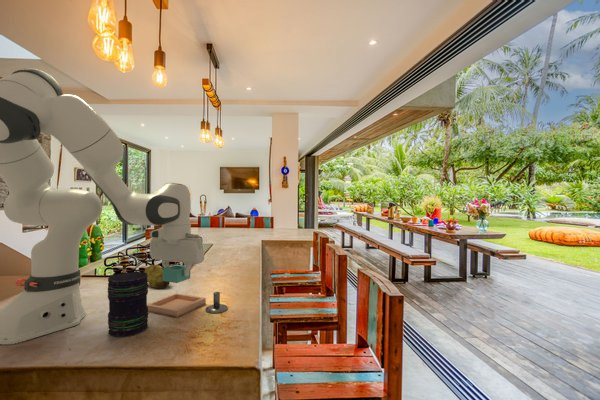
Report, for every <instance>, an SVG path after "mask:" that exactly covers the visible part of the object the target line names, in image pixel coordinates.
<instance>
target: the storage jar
mask: <svg viewBox="0 0 600 400" xmlns="http://www.w3.org/2000/svg"><path fill="white" fill-rule="evenodd" d="M147 277H148V274H147V273H145V272H144V271H127V272H121V273H116V274H113V275H110V276H108V277H107V282H108V283H107V299H108V306H109V307H108V308H109V309H108V311H109V312H108V313H107V325H108V326H107V328H108V336H110V337H111V338H112V337H113V338H129V337H132V336H133V337H134V336H136V335H139V334H142V333H143V332H145V331H146V330H147V329H148V327H149V324H148V319H149V312H148V307H147V304H148V303H147V301H148V296H147V295H148V294H149V289H148V288H149V283H148V279H147Z"/></svg>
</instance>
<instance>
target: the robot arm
mask: <svg viewBox="0 0 600 400" xmlns="http://www.w3.org/2000/svg"><path fill="white" fill-rule="evenodd" d="M41 133H45V134H48V135H50V136H52V137H54V138H55V139H56V140H57V141H58V142H59V143H60V144H61V145H62V146H63V147H64V148H65V149H66V150H67V152H69V154H70V155H72V157H73V158H74V159H75V160H76V161H77V162H78V163H79V164H80V165H81V166H82V167H83V169H84V172H85V173H86V174H87V175H88V177H89V178H90V180H91V181H92V182H93V183H94V184H95V185H96V187H97V188H98V189H99V191H101V193H102V194H103V195H104V196H105V198H107V200H108V201H109V202H110V203H111V206H112V208H113V210H114V213H115V216H116V217H117V218H118V220H119V221H120V222H121V223H123V224H125V225H128V226H135V225H136V226H139V225H140V226H141V225H142V226H152V227H153V226H155V227H156V226H157V227H158V226H161V227H159V228H157V229H154V230H152V231H150V232H149V236H150V237H149V238H150V241H149V256H150V258H151V259H153V260H161V264H162V267H163V268H166V267H170V266H171V265H170V262H176V263H183V264H184V265H183V266H186V267H185V269H184V270H183V271H182V276H189V270H190V271H191V268H192V266H193V265H198V264H202V263H203V262H204V261H205V251H204V244H203V238H202V237H201V236H200V235H199V234H196V233H195V234H194V233H191V232H192V231H191V230H192V227H191V226H192V224H191V223H192V222H191V219H190V216H191V215H190V214H191V210H192V207H191V202H192V201H191V194H190V193H191V192H190V189H189V187H188V186H186V185H185V184H182V183H176V182H166V183H164V184H163V185H162V187H160V188H159V189H157V190H156V191H154V192H153V191H152V192H151V193H139V192H135V191H133V190H131V189H130V188H129V187H128V186H127V184H126V183H125V182H124V181H123V179H122V177H121V176H119V173H118V172H117V171H116V169H115V167H117V165H119V163H120V162H121V161H122V158H123V156H124V146H123V143H122V141H121V139H120V138H119V136H118V135H117V134H116V132H115V131H114V130H113V129H112V128H111V126H110V125H109V124H108V123H107V122H106V120H104V118H103V117H102V116H101V115H100V114H98V112H97V111H96V110H95V109H94V108H93V107H91V106H90V105H89V103H87V102H86V101H85V100H84V99H82V98H80V97H79V96H77V95H75V94H63V90H62V87H61V85H60V84H59V82H58V81H57V80H56V79H55V78H54V77H53V76H52V75H51V74H48V73H47V72H45V71H43V70H40V69H37V68H23V69H19V70H15V71H13V72H12V73H11V74H9V75H6V76H4V77H2V78H0V178H1V179H2V180H3V182H4V183H5V185H6V187H7V189H8V195H7V197H6V198H5V201H4V203H3V211H4V214H5V216H6V218H7V219H8V220H9V221H11V222H13V223H17V224H22V225H25V226H31V227H32V226H33V227H35V226H36V227H38V226H39V227H42V226H43V227H47V226H48V231H47V234H46V235H45V237H44V239H42V240H40V241H38V242H37V243H35V244H34V245H33V247H32V249H31V250H30V251H31V252H30V256H31V257H30V263H31V264H30V265H31V270H30V271H31V272H30V273H31V274H30V275H29V277H27V279H26V278H20V277H19V278H17V279H16V280H15V281H14V285H16V286H18V287H23V290H22V291H21V292H20V293H18V295H17V296H15V297H14V298H13V299H11V300H10V301H9V302H8V303H7V304H5V305H4V306H3V307H2V308H0V345H16V344H19V343H22V341H23V342H25V341H28V340H32V339H35V338H39V337H43V336H45V335H49V334H51V333H55V332H58V331H61V330H65V329H68V328H72V327H74V326H78V325H80V324H81V320H82V319H84V317H85V316H86V312H85V308H84V305H83V301H82V296H81V290H80V286H81V278H82V277H81V269H80V268H79V264H80V263H79V262H80V261H79V260H80V259H79V258H80V256H79V255H80V245H81V241H82V238H83V236H84V234H85V233H86V231H87V229H88V228H89V227H90V226H91V225H93V224H94V223H96V222H97V220H98V219H99V218H100V217H101V214H102V212H103V203H102V202H103V201H101V198H100V196H99V195H98V194H97V193H95V192H93V191H90V190H85V189H81V188H80V189H79V188H55V187H53V186H52V185H50V184H49V181H50V180H51V179H52V178H53V175H54V173H55V166H54V163H53V162H52V160H51V159H50V157H49V155H48V154H47V152H46V151H45V150H44V147H43V146H42V145H41V143H40V142H39V140H38V139H39V137H40V136H41ZM18 342H19V343H18ZM15 343H16V344H15Z"/></svg>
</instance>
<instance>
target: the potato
mask: <svg viewBox="0 0 600 400" xmlns="http://www.w3.org/2000/svg"><path fill="white" fill-rule="evenodd" d="M143 272H145V273H147V274H148V277H147V279H148V282H147V283H148V286H149V287H151V288H154V289H164V288H167V287H168V286H169V285H170V283H171V282H167V281H163V268H162V267H161V266H160V265H157V264H152V265H149V266H147V267H146V268H145V269H144V271H143Z"/></svg>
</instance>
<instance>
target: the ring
mask: <svg viewBox="0 0 600 400" xmlns="http://www.w3.org/2000/svg"><path fill="white" fill-rule="evenodd" d="M185 267H186V266H184V265H183V264H182V265H181V264H174V265H170V267H166V268H164V267H163V268H162V269H163V281H167V282H170V283H174V284H178V283H181V282H185V281H186V280H190V279H191V269H190V270H189V276H182V271H183V270H184V269H185Z"/></svg>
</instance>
